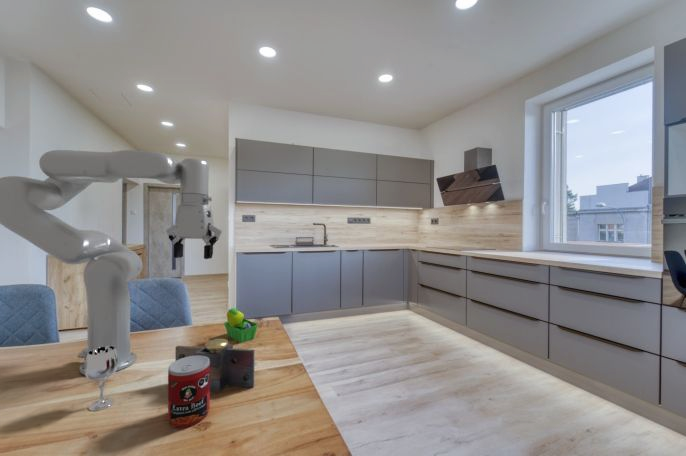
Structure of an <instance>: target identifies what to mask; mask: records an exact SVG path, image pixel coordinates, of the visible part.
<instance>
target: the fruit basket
mask: <svg viewBox="0 0 686 456" xmlns="http://www.w3.org/2000/svg"><path fill="white" fill-rule="evenodd" d="M226 317H227V321H225V322H223V325H224V326H225V330H226V333H227V337H228V338H230V339H232V340H235V341H236V342H238V343H240V344H243V343H246V342H249V341H251V340H254V339H255V336H256V332H257V329H258V327H259V324H258V323H256V322H253V321H251V320H248V319H247V318H244V317H245V316H244V313H243V312H241V310H240V311H239V310H237V308H235V307H231V308H229V309H228V311H227V313H226Z"/></svg>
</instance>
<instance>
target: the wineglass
mask: <svg viewBox="0 0 686 456" xmlns="http://www.w3.org/2000/svg"><path fill="white" fill-rule="evenodd" d="M117 367H118V356H117V352H116V349H115V347H113V346H105V347H100V348H96V349H93V350H91V351H89V352H88V355H87V358H86V362H85V368H84V371H85V375H84V377H86V379H87V380H90V381H93V382H94V381H95V382H98V387H99V393H100V396H99V400H97V401H95V402H92V403H91V404H90V405H89V406H88V411H91V412H96V411H101V410H104V409H106V408H109V407H111V406H112V405H113V404H115V399H114V398H104V389H105V388H104V387H105V380H106V379H108V378H110V377H111V376H112V375H114V374H115V373H116V372H117V371H116V370H117Z"/></svg>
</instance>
